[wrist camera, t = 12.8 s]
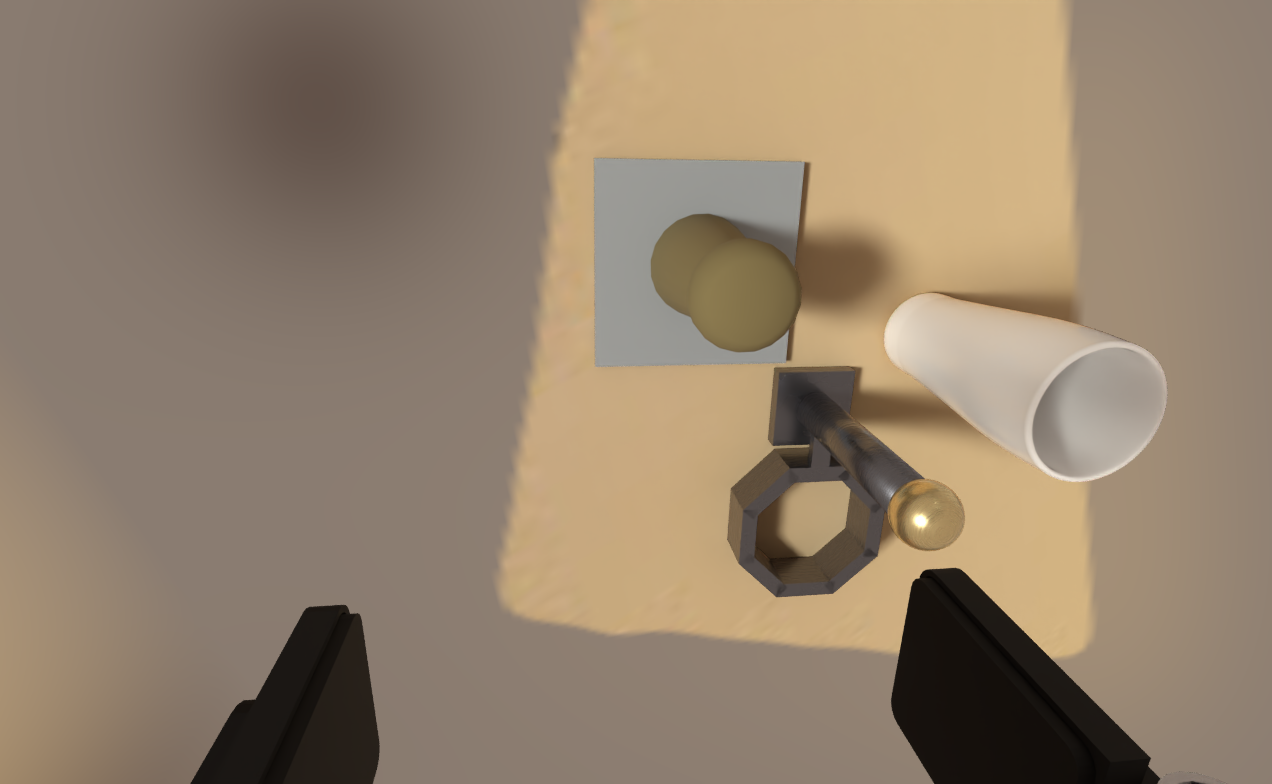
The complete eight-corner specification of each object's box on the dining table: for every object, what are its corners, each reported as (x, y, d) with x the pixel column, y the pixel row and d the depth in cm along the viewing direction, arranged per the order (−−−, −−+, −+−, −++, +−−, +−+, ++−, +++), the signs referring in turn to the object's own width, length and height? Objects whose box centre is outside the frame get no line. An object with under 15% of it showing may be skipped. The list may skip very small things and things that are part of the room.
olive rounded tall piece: (677, 195, 38) (725, 208, 27) (768, 240, 39) (846, 268, 29) (633, 292, 39) (662, 339, 29) (722, 331, 41) (779, 390, 30)
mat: (594, 158, 37) (594, 158, 36) (801, 161, 38) (804, 161, 38) (595, 364, 41) (595, 366, 40) (782, 360, 42) (785, 363, 42)
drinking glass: (970, 271, 42) (1181, 327, 28) (967, 371, 44) (1160, 470, 30) (867, 288, 42) (1030, 354, 27) (870, 389, 44) (1020, 497, 30)
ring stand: (739, 368, 42) (845, 485, 27) (882, 365, 43) (1061, 476, 28) (724, 573, 47) (807, 769, 32) (853, 566, 48) (991, 751, 33)
